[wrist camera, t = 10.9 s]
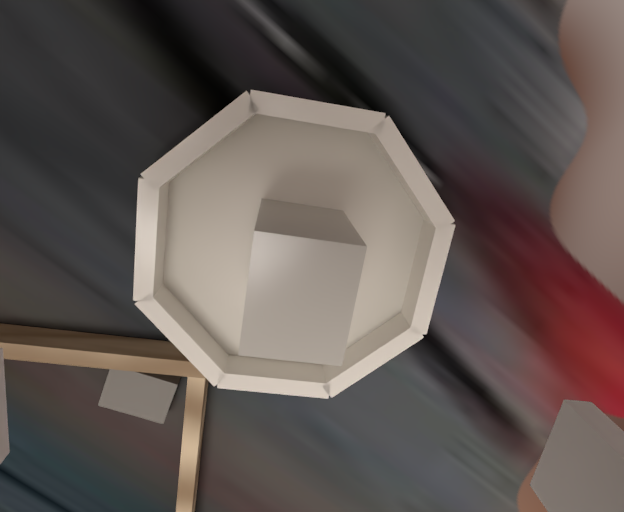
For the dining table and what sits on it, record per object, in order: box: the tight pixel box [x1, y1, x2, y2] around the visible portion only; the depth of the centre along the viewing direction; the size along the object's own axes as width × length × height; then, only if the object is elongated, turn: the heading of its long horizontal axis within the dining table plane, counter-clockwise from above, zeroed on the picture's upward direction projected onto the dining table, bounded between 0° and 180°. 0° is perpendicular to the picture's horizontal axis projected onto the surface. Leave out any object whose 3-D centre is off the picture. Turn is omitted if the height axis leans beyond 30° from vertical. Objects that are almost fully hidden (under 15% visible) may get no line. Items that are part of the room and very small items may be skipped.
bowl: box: [133, 90, 455, 399], centre depth 24 cm, size 16×16×3 cm
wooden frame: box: [0, 323, 208, 512], centre depth 27 cm, size 18×20×2 cm
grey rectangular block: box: [98, 369, 181, 424], centre depth 27 cm, size 3×4×2 cm
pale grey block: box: [238, 198, 367, 366], centre depth 21 cm, size 6×4×7 cm
